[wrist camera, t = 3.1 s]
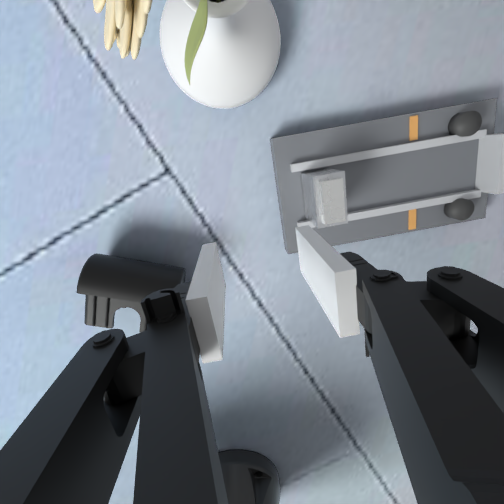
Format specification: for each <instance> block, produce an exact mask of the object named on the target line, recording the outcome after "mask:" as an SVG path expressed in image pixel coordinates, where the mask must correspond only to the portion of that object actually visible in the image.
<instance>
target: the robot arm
mask: <svg viewBox="0 0 504 504" xmlns="http://www.w3.org/2000/svg"><path fill="white" fill-rule="evenodd" d="M295 229H296V238H297V246H298V254H299V262H300V270H301V273H302V274H303V276H304V278H305V280H306V281H307V283H308V285H309V286H310V288H311V290H312V291H313V293H314V295H315V296H316V298H317V300H318V301H319V303H320V305H321V307H322V308H323V310H324V312H325V313H326V315H327V317H328V318H329V320H330V322H331V323H332V325H333V327H334V328H335V330H336V332H337V334H338V335H339V337H340V338H343V337H348V336H353V335H359V334H360V330H359V322H360V323H361V324H362V325H363V327H364V328H365V348H366V357H369V353H370V356H371V360H372V363H373V366H374V369H375V372H376V375H377V378H378V381H379V384H380V388H381V391H382V394H383V397H384V400H385V403H386V406H387V409H388V413H389V416H390V419H391V422H392V425H393V428H394V431H395V434H396V437H397V441H398V444H399V447H400V450H401V453H402V456H403V459H404V462H405V465H406V469H407V472H408V475H409V478H410V481H411V484H412V487H413V490H414V493H415V497H416V500H417V503H418V504H504V288H502V287H500V286H498V285H496V284H494V283H492V282H489V281H487V280H485V279H483V278H481V277H479V276H477V275H475V274H473V273H471V272H469V271H466V270H463V269H459V268H455V267H450V266H449V267H448V266H444V267H439V268H434V269H431V270H429V271H428V272H427V281H419V282H406V281H405V280H404V279H403V277H402V276H401V275H400V274H398V273H396V272H393V271H389V270H377V269H376V268H375V267H373V266H372V265H371V264H370V263H368V262H367V261H366V260H364V259H363V258H362V257H361V256H359V255H358V254H355V253H352V252H345V253H338V252H337V251H336V250H335V249H334V248H333V247H332V246H331V245H330V244H329V243H328V242H326V241H325V240H324V239H323V238H322V237H321V236H320V235H319V234H318V233H317V232H316V231H315V230H313V229H312V228H311V227H310V226H309V225H305V226H300V227H295ZM225 288H226V285H225V280H224V276H223V271H222V267H221V262H220V258H219V253H218V249H217V244H216V242H212V243H207V244H203V245H202V248H201V251H200V255H199V258H198V261H197V264H196V268H195V271H194V274H193V277H192V281H191V282H187V283H182V284H178V285H177V286H176V287H175V288H167V289H162V290H158V291H156V292H153V293H151V294H149V295H147V296H146V297H145V298H143V299H142V301H141V306H142V309H143V312H144V315H145V318H146V321H147V330H145V331H143V332H141V333H139V334H136V335H133V336H130V337H128V338H126V336H125V334H124V332H123V330H120V329H110V330H107V331H106V330H105V331H102V332H101V333H100V332H99V333H97V334H96V335H95V336H93V337H92V338H90V339H89V340H88V341H87V342H86V343H85V344H84V345H83V346H82V347H81V348H80V350H79V351H78V352H77V353H76V355H75V356H74V357H73V359H72V360H71V361H70V362H69V364H68V365H67V366H66V367H65V369H64V370H63V371H62V373H61V374H60V375H59V376H58V378H57V379H56V380H55V382H54V383H53V384H52V385H51V387H50V388H49V389H48V390H47V392H46V393H45V394H44V396H43V397H42V398H41V399H40V401H39V402H38V403H37V404H36V406H35V407H34V408H33V410H32V411H31V412H30V413H29V415H28V416H27V417H26V419H25V420H24V421H23V422H22V424H21V425H20V426H19V427H18V429H17V430H16V431H15V433H14V434H13V435H12V436H11V438H10V439H9V440H8V441H7V443H6V444H5V445H4V447H3V448H2V449H1V450H0V504H108V503H109V500H110V497H111V494H112V491H113V489H114V486H115V483H116V480H117V478H118V475H119V472H120V469H121V466H122V464H123V461H124V458H125V455H126V452H127V450H128V447H129V444H130V441H131V438H132V436H133V433H134V430H135V427H136V424H137V422H138V419H139V416H140V424H139V437H138V450H137V462H136V475H135V488H134V501H133V504H279V501H280V483H279V476H278V472H277V469H276V467H275V466H274V464H273V463H272V462H271V461H270V460H269V459H267V458H266V457H264V456H262V455H260V454H258V453H255V452H251V451H245V450H230V451H224V452H220V453H218V450H217V445H216V440H215V435H214V430H213V425H212V420H211V415H210V410H209V405H208V400H207V396H206V391H205V386H204V381H203V376H202V371H201V367H200V364H199V355H201V358H202V362H203V364H204V363H209V362H215V361H220V360H223V340H224V314H225ZM470 320H472V321H473V322H474V323H475V325H476V326H477V328H478V333H477V334H475V333H474V332H472V331H471V330H470Z"/></svg>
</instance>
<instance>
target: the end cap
mask: <svg viewBox="0 0 504 504" xmlns="http://www.w3.org/2000/svg"><path fill="white" fill-rule="evenodd" d="M184 282H185V269H184V268H180V267H174V266H168V265H162V264H156V263H150V262H145V261H139V260H133V259H127V258H121V257H115V256H109V255H103V254H94V255H92V256H91V257H90V258H89V259H88V260H87V261H86V263H85V265H84V266H83V268H82V271H81V273H80V276H79V280H78V285H77V293H79V294H85V295H86V301H85V324H86V325H90V326H98V327H105V328H113V326H114V315H115V311H116V310H117V309H119V308H126V307H130V308H133V309H134V310H136V311H137V312H138V313H139V315H140V318H141V323H140V332H143V331H145V330H147V321H146V318H145V315H144V312H143V309H142V306H141V301H142V299H143V298H145V297H146V296H147V295H149V294H151V293H153V292H156V291H158V290H162V289H167V288H175V287H176V286H177V285H178V284H182V283H184Z"/></svg>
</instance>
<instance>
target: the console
mask: <svg viewBox="0 0 504 504" xmlns="http://www.w3.org/2000/svg"><path fill="white" fill-rule="evenodd" d="M496 105H497V98H494V99H488V100H483V101H477V102H471V103H466V104H460V105H455V106H449V107H444V108H438V109H433V110H427V111H421V112H416V113H410V114H405V115H399V116H394V117H388V118H382V119H377V120H371V121H366V122H360V123H355V124H349V125H343V126H338V127H332V128H327V129H321V130H316V131H310V132H305V133H299V134H293V135H288V136H282V137H277V138H272V139H270V143H271V151H272V158H273V165H274V172H275V179H276V187H277V194H278V201H279V208H280V215H281V223H282V230H283V237H284V244H285V250H286V251H287V253H288V254H292V253H297V252H298V246H297V238H296V229H295V227H300V226H305V225H309V226H310V227H311V228H312V229H313V230H315V231H316V232H317V233H318V234H319V235H320V236H321V237H322V238H323V239H324V240H325V241H326V242H328V243H329V244H330V245H331V246H335V245H341V244H346V243H352V242H357V241H362V240H368V239H373V238H379V237H384V236H390V235H395V234H400V233H406V232H411V231H417V230H422V229H428V228H433V227H438V226H444V225H449V224H455V223H460V222H466V221H471V220H476V219H482V218H485V215H486V205H487V195H488V193H491V194H503V193H504V133H497V134H494V125H495V115H496ZM327 168H329V169H335V170H342V171H345V183H346V199H347V215H348V223H346V224H341V225H335V226H330V227H325V228H319V229H318V228H316V227H315V226H314V225H313V224H312V223H311V222H310V221H308V220H307V219H306V218H305V209H304V200H303V191H302V182H301V173H305V172H310V171H316V170H321V169H327Z"/></svg>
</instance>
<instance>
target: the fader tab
mask: <svg viewBox="0 0 504 504" xmlns="http://www.w3.org/2000/svg"><path fill="white" fill-rule="evenodd" d="M301 182H302V191H303V200H304V209H305V218H306V219H307V220H308V221H310V222H311V223H312V224H313V225H314V226H315V227H316V228H318V229H319V228H325V227H330V226H335V225H341V224H346V223H348V215H347V199H346V183H345V171H342V170H335V169H329V168H327V169H321V170H316V171H310V172H305V173H301Z"/></svg>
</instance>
